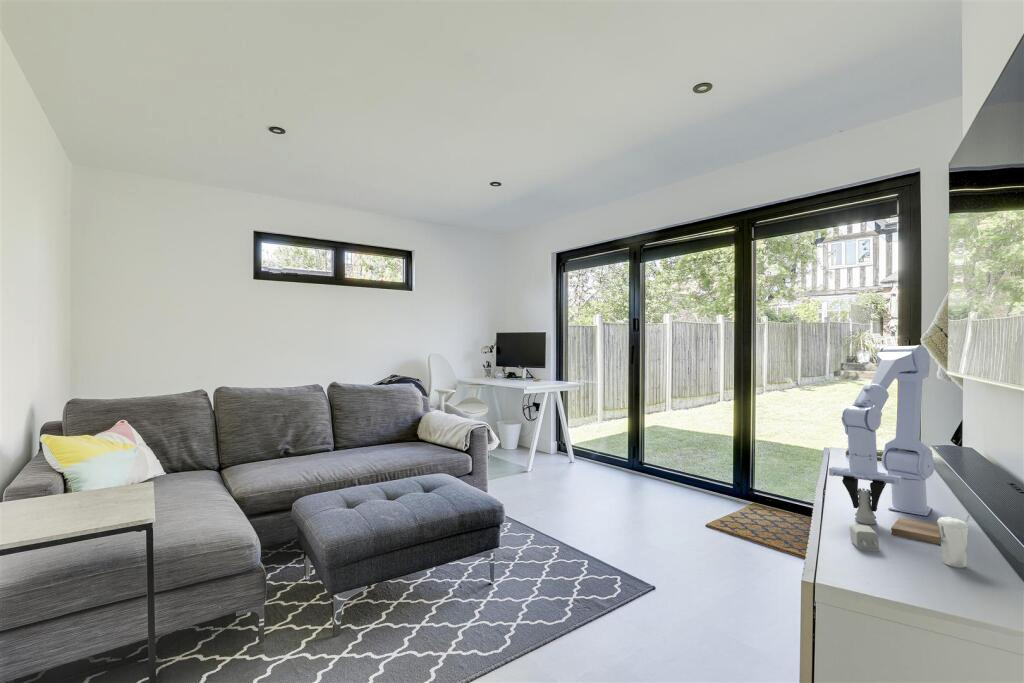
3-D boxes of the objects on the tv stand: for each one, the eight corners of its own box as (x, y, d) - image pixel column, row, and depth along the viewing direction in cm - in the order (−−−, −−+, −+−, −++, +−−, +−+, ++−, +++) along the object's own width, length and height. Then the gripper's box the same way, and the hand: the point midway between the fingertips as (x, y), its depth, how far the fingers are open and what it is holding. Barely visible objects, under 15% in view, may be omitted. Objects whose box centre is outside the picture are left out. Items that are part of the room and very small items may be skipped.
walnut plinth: (899, 523, 117) (899, 517, 117) (954, 534, 110) (954, 527, 110) (891, 534, 110) (891, 527, 110) (949, 546, 103) (949, 539, 103)
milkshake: (981, 570, 91) (978, 518, 92) (949, 568, 92) (946, 516, 93) (964, 560, 96) (961, 510, 96) (933, 559, 97) (931, 509, 97)
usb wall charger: (872, 544, 105) (871, 526, 105) (883, 556, 98) (882, 537, 99) (850, 542, 106) (849, 524, 107) (860, 554, 100) (859, 535, 100)
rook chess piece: (850, 519, 121) (848, 487, 121) (866, 518, 121) (865, 486, 121) (864, 525, 116) (863, 492, 117) (881, 524, 117) (880, 491, 117)
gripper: (824, 452, 122) (826, 506, 121) (896, 460, 111) (899, 519, 111) (832, 448, 127) (834, 500, 126) (901, 456, 116) (904, 512, 116)
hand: (865, 508), depth 119 cm, fingers closed on rook chess piece, 3 cm apart
